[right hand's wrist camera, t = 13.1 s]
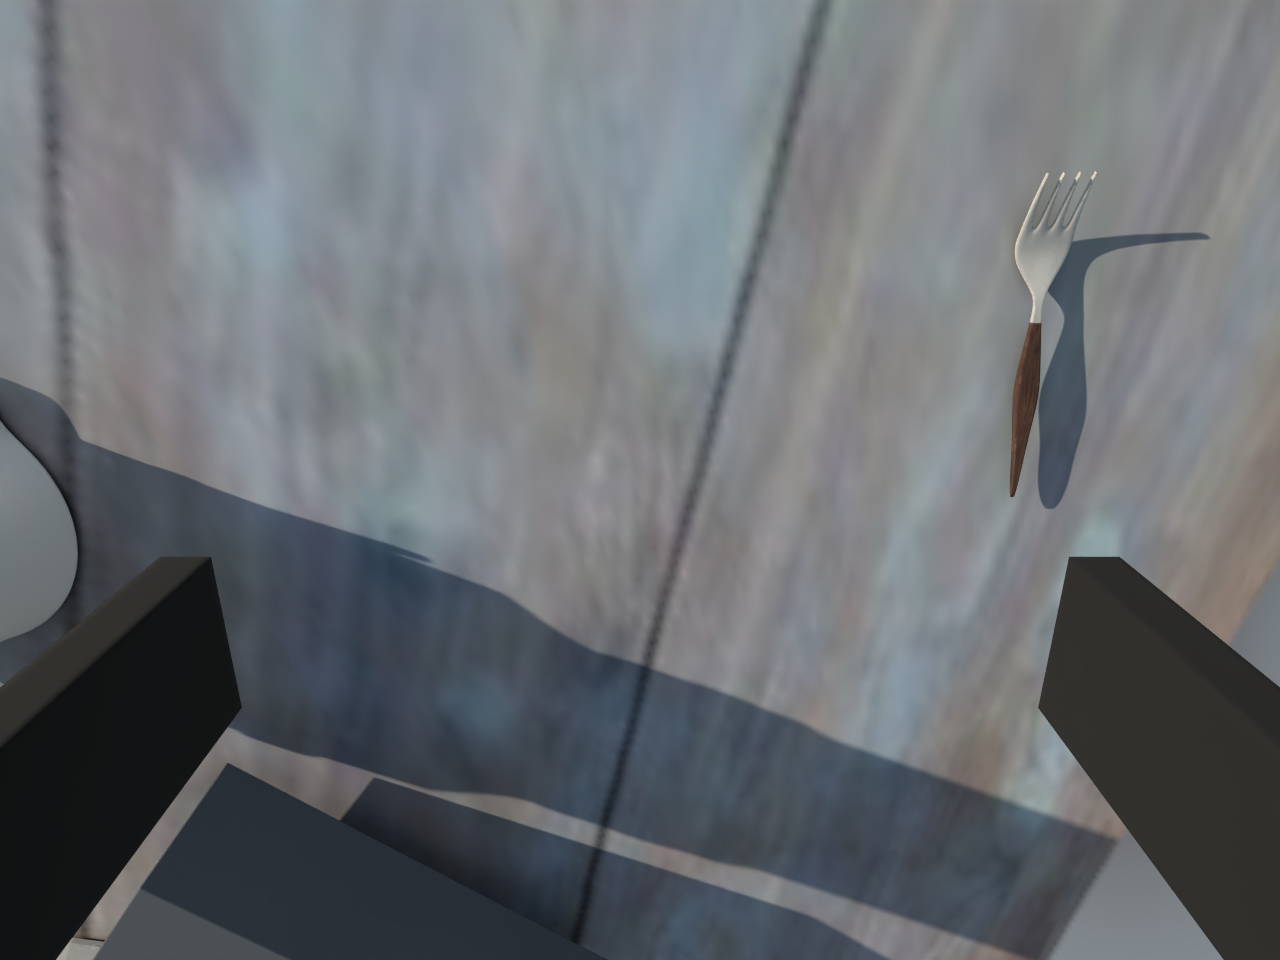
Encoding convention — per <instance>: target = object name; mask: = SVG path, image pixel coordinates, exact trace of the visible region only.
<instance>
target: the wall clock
mask: <svg viewBox="0 0 1280 960" xmlns="http://www.w3.org/2000/svg"><path fill="white" fill-rule="evenodd" d="M103 943H104V942H101V941H94V940H87V939H79V938H72V939H71V940H70V942H69V943H68V944H67V946H66V947H65V948H64V950H63V951H62V952H61V954H60V955H59V957H58V958H57V959H56V960H93V958H94V957H95V955H96V953H97V952H98V950H99V949H100V947H101V946H102V944H103Z"/></svg>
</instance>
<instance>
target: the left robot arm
mask: <svg viewBox="0 0 1280 960" xmlns="http://www.w3.org/2000/svg"><path fill="white" fill-rule="evenodd" d="M77 562H78V546H77V538H76V532H75V528H74V524H73V520H72V517H71V514H70V512H69V509H68V507H67V504H66V502H65V500H64V498H63V496H62V494H61V492H60V491H59V489H58V487H57V486H56V484H55V482H54V481H53V479H52V478H51V476H50V475H49V474H48V472H47V471H46V470H45V468H44V467H43V466H42V465H41V464H40V462H39V461H38V460H37V459H36V458H35V457H34V456H33V455H32V454H31V453H30V452H29V451H28V450H27V449H26V448H25V447H24V446H23V445H22V444H21V443H20V442H19V441H18V440H17V439H16V438H15V437H14V436H13V435H12V434H11V433H10V432H9V431H8V429H7V428H6V427H5V426H4V425H3V423H2V422H1V421H0V642H2V641H4V640H7V639H10V638H13V637H16V636H18V635H21V634H24V633H26V632H28V631H31V630H33V629H34V628H36V627H38V626H40V625H41V624H43V623H44V622H45V621H47V620H48V619H49V618H50V617H51V616H52V615H53V614H54V613H55V612H56V611H57V610H58V609H59V608H60V607H61V605H62V604H63V603H64V601H65V600H66V598H67V596H68V594H69V592H70V590H71V588H72V585H73V582H74V579H75V575H76V570H77Z"/></svg>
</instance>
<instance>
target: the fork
mask: <svg viewBox="0 0 1280 960" xmlns="http://www.w3.org/2000/svg"><path fill="white" fill-rule="evenodd" d="M1097 174H1098V173H1097V172H1094V174H1093V176H1092V178H1091V180H1090V182H1089V184H1088V186H1087V187H1086V189H1085V191H1084V193H1083V195H1082V197H1081V199H1080V201H1079V203H1078V205H1077V207H1076V209H1075V211H1074V213H1073V215H1072V217H1071V219H1070V221H1069V223H1068V224H1067V225H1066V226H1065V227H1063V226H1062V224H1063V220H1064V216H1065V214H1066V211H1067V208H1068V205H1069V203H1070V200H1071V198H1072V195H1073V192H1074V190H1075V187H1076V185H1077V182H1078V180H1079V178H1080V176H1081V172H1079V173H1078V175H1077V177H1076V179H1075V180H1074V182H1073V184H1072V186H1071V188H1070V190H1069V192H1068V194H1067V196H1066V198H1065V200H1064V202H1063V204H1062V206H1061V208H1060V210H1059V213H1058V215H1057V217H1056V219H1055V221H1054V223H1053V224H1052V226H1051V227H1047V222H1048V219H1049V216H1050V213H1051V210H1052V207H1053V204H1054V202H1055V199H1056V196H1057V193H1058V191H1059V188H1060V186H1061V183H1062V180H1063V178H1064V176H1065V173H1064V172H1063V173H1062V175H1061V177H1060V179H1059V181H1058V183H1057V185H1056V187H1055V189H1054V191H1053V193H1052V195H1051V197H1050V199H1049V201H1048V204H1047V206H1046V208H1045V210H1044V212H1043V214H1042V217H1041V219H1040V221H1039V223H1038V224H1037V226H1036V227H1035V228H1032V221H1033V218H1034V215H1035V212H1036V209H1037V206H1038V203H1039V200H1040V197H1041V195H1042V192H1043V189H1044V186H1045V183H1046V181H1047V179H1048V177H1049V173H1046V175H1045V177H1044V179H1043V182H1042V184H1041V186H1040V188H1039V190H1038V192H1037V194H1036V196H1035V198H1034V201H1033V203H1032V205H1031V207H1030V209H1029V212H1028V214H1027V216H1026V219H1025V221H1024V224H1023V226H1022V229H1021V231H1020V233H1019V236H1018V239H1017V242H1016V246H1015V258H1016V263H1017V266H1018V268H1019V271H1020V273H1021V274H1022V276H1023V278H1024V280H1025V282H1026V283H1027V285H1028V287H1029V289H1030V291H1031V294H1032V297H1033V310H1032V315H1031V320H1030V324H1029V328H1028V332H1027V335H1026V339H1025V343H1024V347H1023V351H1022V355H1021V359H1020V363H1019V367H1018V371H1017V376H1016V380H1015V386H1014V393H1013V410H1012V451H1011V469H1010V497H1014V495H1015V492H1016V488H1017V485H1018V481H1019V476H1020V472H1021V468H1022V463H1023V459H1024V455H1025V450H1026V446H1027V442H1028V437H1029V433H1030V429H1031V425H1032V422H1033V418H1034V413H1035V409H1036V405H1037V400H1038V393H1039V383H1040V357H1041V317H1042V306H1043V301H1044V298H1045V295H1046V293H1047V291H1048V289H1049V287H1050V285H1051V283H1052V282H1053V280H1054V278H1055V277H1056V275H1057V273H1058V272H1059V270H1060V268H1061V266H1062V265H1063V263H1064V261H1065V259H1066V257H1067V254H1068V252H1069V249H1070V247H1071V243H1072V240H1073V236H1074V233H1075V229H1076V226H1077V222H1078V220H1079V217H1080V214H1081V212H1082V209H1083V206H1084V204H1085V201H1086V199H1087V196H1088V194H1089V192H1090V189H1091V187H1092V184H1093V182H1094V180H1095V178H1096V176H1097Z"/></svg>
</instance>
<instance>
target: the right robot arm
mask: <svg viewBox="0 0 1280 960" xmlns="http://www.w3.org/2000/svg"><path fill="white" fill-rule="evenodd" d="M241 708H242V707H241V702H240V697H239V692H238V688H237V683H236V678H235V673H234V668H233V663H232V658H231V653H230V648H229V644H228V639H227V634H226V629H225V624H224V619H223V614H222V609H221V604H220V600H219V595H218V590H217V585H216V580H215V575H214V570H213V565H212V560H211V557H160V558H159V559H157V560H156V561H155V562H154V563H153V564H151V565H150V566H149V567H148V568H146V569H145V570H144V571H143V572H141V573H140V574H139V575H138V576H137V577H135V578H134V579H133V580H132V581H130V582H129V583H128V584H127V585H126V586H124V587H123V588H122V589H121V590H119V591H118V592H117V593H116V594H114V595H113V596H112V597H111V598H110V599H108V600H107V601H106V602H105V603H103V604H102V605H101V606H100V607H98V608H97V609H96V610H95V611H94V612H92V613H91V614H90V615H89V616H87V617H86V618H85V619H84V620H83V621H81V622H80V623H79V624H78V625H76V626H75V627H74V628H73V629H71V630H70V631H69V632H68V633H67V634H65V635H64V636H63V637H62V638H60V639H59V640H58V641H57V642H55V643H54V644H53V645H52V646H51V647H49V648H48V649H47V650H46V651H44V652H43V653H42V654H41V655H39V656H38V657H37V658H36V659H35V660H33V661H32V662H31V663H30V664H28V665H27V666H26V667H25V668H24V669H22V670H21V671H20V672H19V673H17V674H16V675H15V676H14V677H12V678H11V679H10V680H9V681H8V682H6V683H5V684H4V685H3V686H1V687H0V960H56V959H57V958H58V957H59V955H60V954H61V952H62V951H63V950H64V948H65V947H66V946H67V944H68V943H69V942H70V940H71V939H72V938H73V936H74V935H75V933H76V932H77V931H78V929H79V928H80V927H81V925H82V924H83V923H84V921H85V920H86V919H87V917H88V916H89V914H90V913H91V912H92V910H93V909H94V908H95V906H96V905H97V904H98V902H99V901H100V900H101V898H102V897H103V895H104V894H105V893H106V891H107V890H108V889H109V887H110V886H111V885H112V883H113V882H114V880H115V879H116V878H117V876H118V875H119V874H120V872H121V871H122V870H123V868H124V867H125V866H126V864H127V863H128V861H129V860H130V859H131V857H132V856H133V855H134V853H135V852H136V851H137V849H138V848H139V847H140V845H141V844H142V842H143V841H144V840H145V838H146V837H147V836H148V834H149V833H150V832H151V830H152V829H153V828H154V826H155V825H156V823H157V822H158V821H159V819H160V818H161V817H162V815H163V814H164V813H165V811H166V810H167V809H168V807H169V806H170V804H171V803H172V802H173V800H174V799H175V798H176V796H177V795H178V794H179V792H180V791H181V790H182V788H183V787H184V785H185V784H186V783H187V781H188V780H189V779H190V777H191V776H192V775H193V773H194V772H195V770H196V769H197V768H198V766H199V765H200V764H201V762H202V761H203V760H204V758H205V757H206V756H207V754H208V753H209V751H210V750H211V749H212V747H213V746H214V745H215V743H216V742H217V741H218V739H219V738H220V737H221V735H222V734H223V732H224V731H225V730H226V728H227V727H228V726H229V724H230V723H231V722H232V720H233V719H234V718H235V716H236V715H237V713H238V712H239V711H240V709H241ZM1038 708H1039V709H1040V711H1041V712H1042V713H1043V715H1044V716H1045V718H1046V719H1047V720H1048V722H1049V723H1050V724H1051V726H1052V727H1053V728H1054V730H1055V731H1056V732H1057V734H1058V735H1059V737H1060V738H1061V739H1062V741H1063V742H1064V743H1065V745H1066V746H1067V747H1068V749H1069V750H1070V751H1071V753H1072V754H1073V756H1074V757H1075V758H1076V760H1077V761H1078V762H1079V764H1080V765H1081V766H1082V768H1083V769H1084V770H1085V772H1086V773H1087V775H1088V776H1089V777H1090V779H1091V780H1092V781H1093V783H1094V784H1095V785H1096V787H1097V788H1098V790H1099V791H1100V792H1101V794H1102V795H1103V796H1104V798H1105V799H1106V800H1107V802H1108V803H1109V804H1110V806H1111V807H1112V809H1113V810H1114V811H1115V813H1116V814H1117V815H1118V817H1119V818H1120V819H1121V821H1122V822H1123V823H1124V825H1125V826H1126V828H1127V829H1128V830H1129V832H1130V833H1131V834H1132V836H1133V837H1134V838H1135V840H1136V841H1137V842H1138V844H1139V845H1140V847H1141V848H1142V849H1143V851H1144V852H1145V853H1146V855H1147V856H1148V857H1149V859H1150V860H1151V861H1152V863H1153V864H1154V866H1155V867H1156V868H1157V870H1158V871H1159V872H1160V874H1161V875H1162V876H1163V878H1164V879H1165V880H1166V882H1167V883H1168V885H1169V886H1170V887H1171V889H1172V890H1173V891H1174V893H1175V894H1176V895H1177V897H1178V898H1179V900H1180V901H1181V902H1182V904H1183V905H1184V906H1185V908H1186V909H1187V910H1188V912H1189V913H1190V914H1191V916H1192V917H1193V919H1194V920H1195V921H1196V923H1197V924H1198V925H1199V927H1200V928H1201V929H1202V931H1203V932H1204V933H1205V935H1206V936H1207V938H1208V939H1209V940H1210V942H1211V943H1212V944H1213V946H1214V947H1215V948H1216V950H1217V951H1218V952H1219V954H1220V955H1221V957H1222V958H1223V959H1224V960H1280V687H1279V686H1277V685H1276V684H1275V683H1274V682H1272V681H1271V680H1270V679H1269V678H1268V677H1266V676H1265V675H1264V674H1262V673H1261V672H1260V671H1259V670H1258V669H1256V668H1255V667H1254V666H1253V665H1252V664H1250V663H1249V662H1248V661H1247V660H1245V659H1244V658H1243V657H1242V656H1241V655H1239V654H1238V653H1237V652H1236V651H1234V650H1233V649H1232V648H1231V647H1229V646H1228V645H1227V644H1226V643H1225V642H1223V641H1222V640H1221V639H1220V638H1218V637H1217V636H1216V635H1215V634H1213V633H1212V632H1211V631H1210V630H1209V629H1207V628H1206V627H1205V626H1204V625H1202V624H1201V623H1200V622H1199V621H1197V620H1196V619H1195V618H1194V617H1193V616H1191V615H1190V614H1189V613H1188V612H1186V611H1185V610H1184V609H1183V608H1182V607H1180V606H1179V605H1178V604H1177V603H1175V602H1174V601H1173V600H1172V599H1170V598H1169V597H1168V596H1167V595H1166V594H1164V593H1163V592H1162V591H1161V590H1159V589H1158V588H1157V587H1156V586H1154V585H1153V584H1152V583H1151V582H1150V581H1148V580H1147V579H1146V578H1145V577H1143V576H1142V575H1141V574H1140V573H1139V572H1137V571H1136V570H1135V569H1134V568H1132V567H1131V566H1130V565H1129V564H1127V563H1126V562H1125V561H1124V560H1123V559H1121V558H1120V557H1069V560H1068V565H1067V570H1066V575H1065V580H1064V585H1063V590H1062V595H1061V600H1060V604H1059V609H1058V614H1057V619H1056V624H1055V629H1054V634H1053V639H1052V644H1051V648H1050V653H1049V658H1048V663H1047V668H1046V673H1045V678H1044V683H1043V688H1042V692H1041V697H1040V702H1039V707H1038Z"/></svg>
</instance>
